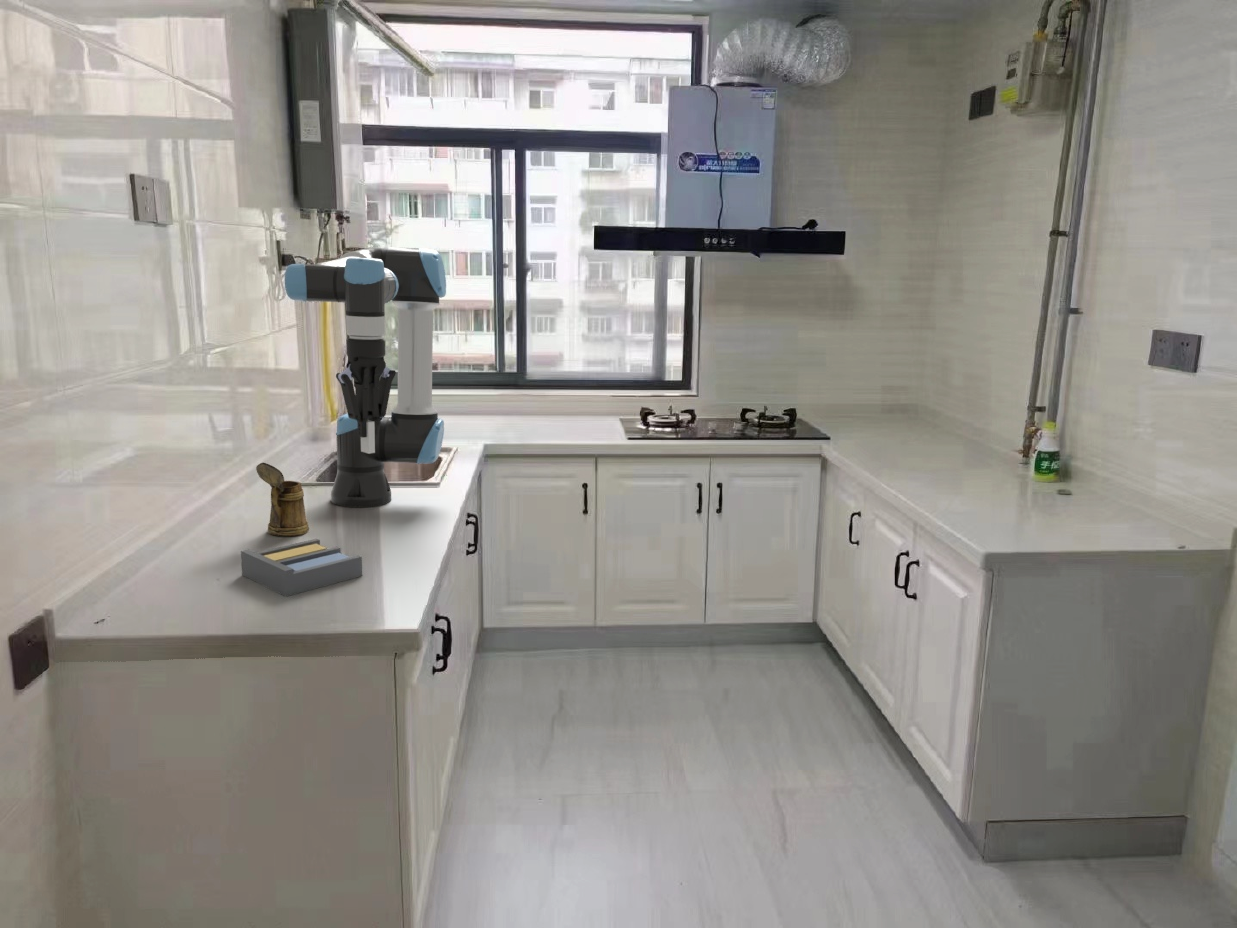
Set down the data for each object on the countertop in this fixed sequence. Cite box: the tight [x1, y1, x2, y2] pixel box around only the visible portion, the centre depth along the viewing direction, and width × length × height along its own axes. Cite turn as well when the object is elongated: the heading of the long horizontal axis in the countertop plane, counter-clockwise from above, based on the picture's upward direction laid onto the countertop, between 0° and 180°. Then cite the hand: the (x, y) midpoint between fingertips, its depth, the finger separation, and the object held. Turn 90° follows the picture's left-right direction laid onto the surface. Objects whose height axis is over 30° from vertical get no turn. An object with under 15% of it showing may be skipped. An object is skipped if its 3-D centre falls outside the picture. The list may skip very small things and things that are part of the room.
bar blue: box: [287, 552, 350, 572], centre depth 177 cm, size 12×4×4 cm, turn 140°
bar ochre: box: [264, 544, 328, 561], centre depth 181 cm, size 12×4×4 cm, turn 140°
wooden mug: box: [255, 462, 310, 538], centre depth 202 cm, size 9×14×18 cm, turn 168°
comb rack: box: [240, 538, 363, 597], centre depth 178 cm, size 17×16×5 cm
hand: (367, 451), depth 186 cm, fingers closed
